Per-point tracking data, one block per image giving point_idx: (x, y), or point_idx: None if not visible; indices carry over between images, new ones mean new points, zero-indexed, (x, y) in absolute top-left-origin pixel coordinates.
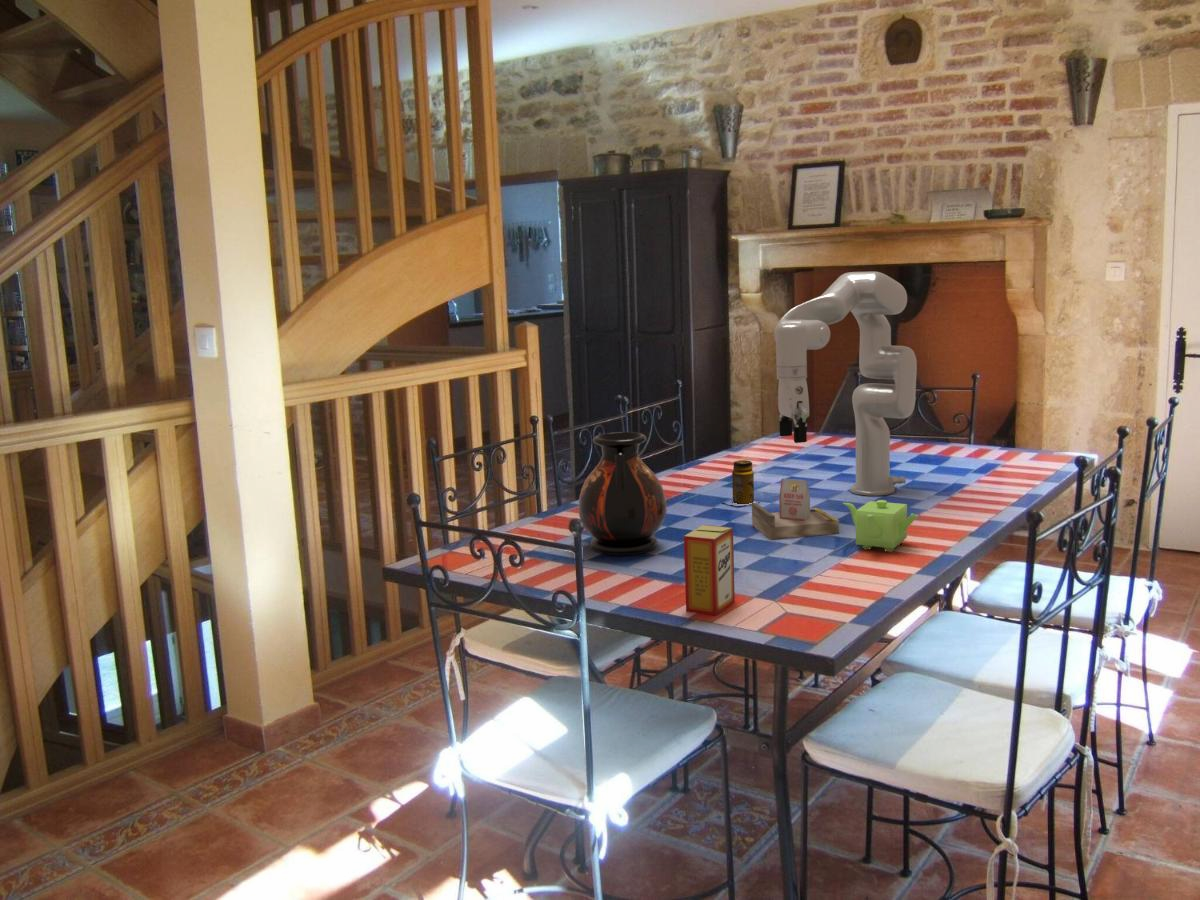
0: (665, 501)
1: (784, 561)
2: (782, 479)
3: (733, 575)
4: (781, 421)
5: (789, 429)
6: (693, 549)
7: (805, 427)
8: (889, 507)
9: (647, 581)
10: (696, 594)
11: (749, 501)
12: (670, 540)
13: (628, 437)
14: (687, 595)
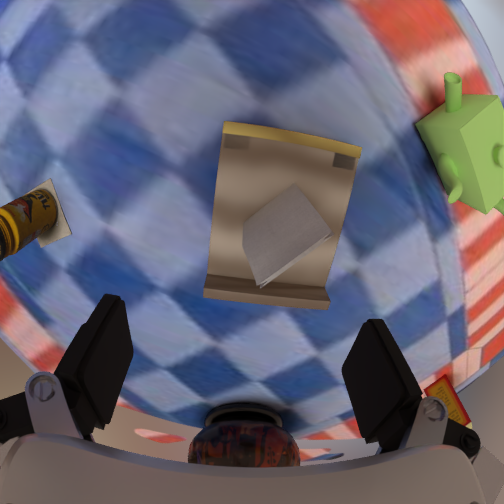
0: (271, 448)
1: (413, 308)
2: (262, 286)
3: (454, 390)
4: (100, 424)
5: (111, 340)
6: None
7: (414, 392)
8: (501, 143)
9: None
10: None
11: (52, 205)
12: (237, 387)
13: None
14: None
